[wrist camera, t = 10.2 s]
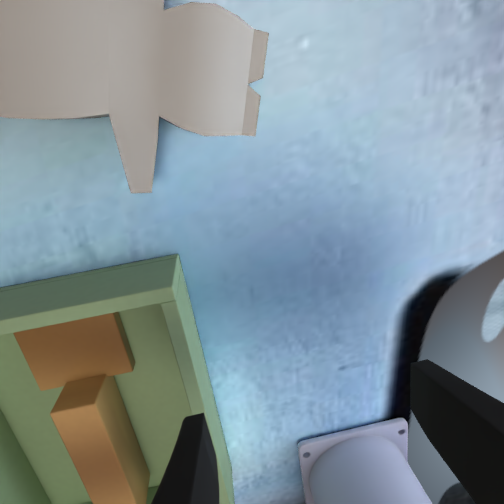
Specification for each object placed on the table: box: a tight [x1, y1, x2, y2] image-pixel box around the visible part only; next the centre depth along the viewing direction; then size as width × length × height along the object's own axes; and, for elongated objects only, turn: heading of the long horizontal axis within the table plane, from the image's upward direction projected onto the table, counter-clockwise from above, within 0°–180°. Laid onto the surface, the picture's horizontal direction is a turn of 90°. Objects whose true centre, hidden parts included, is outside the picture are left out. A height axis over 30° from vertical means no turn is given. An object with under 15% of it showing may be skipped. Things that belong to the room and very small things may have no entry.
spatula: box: [13, 312, 150, 504], centre depth 19 cm, size 13×5×3 cm, turn 9°
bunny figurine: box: [0, 0, 269, 193], centre depth 13 cm, size 10×5×15 cm
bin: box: [0, 254, 235, 504], centre depth 19 cm, size 16×12×4 cm
